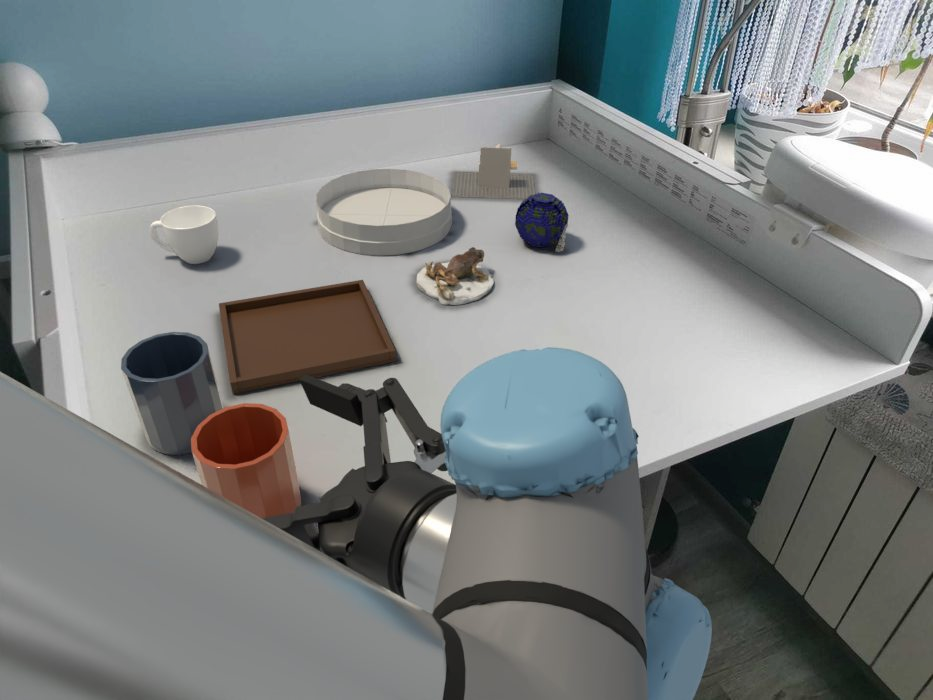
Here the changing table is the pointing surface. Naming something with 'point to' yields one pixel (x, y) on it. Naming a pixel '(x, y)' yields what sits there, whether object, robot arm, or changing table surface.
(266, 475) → the terracotta cup
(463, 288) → the frog figurine
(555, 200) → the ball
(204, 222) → the cup
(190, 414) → the slate cup
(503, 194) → the architectural model
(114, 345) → the changing table surface
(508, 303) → the changing table surface
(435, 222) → the dish
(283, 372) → the tray
